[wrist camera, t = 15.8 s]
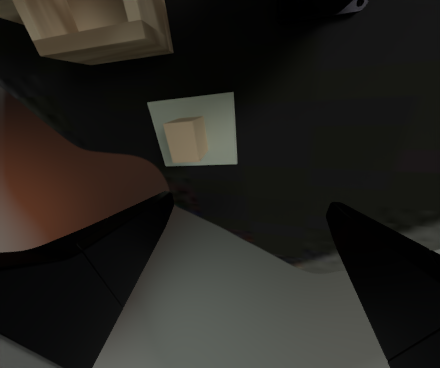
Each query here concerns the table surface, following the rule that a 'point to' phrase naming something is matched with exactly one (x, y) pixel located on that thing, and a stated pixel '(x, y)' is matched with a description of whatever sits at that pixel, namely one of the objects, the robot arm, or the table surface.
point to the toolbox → (93, 28)
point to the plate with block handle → (196, 129)
